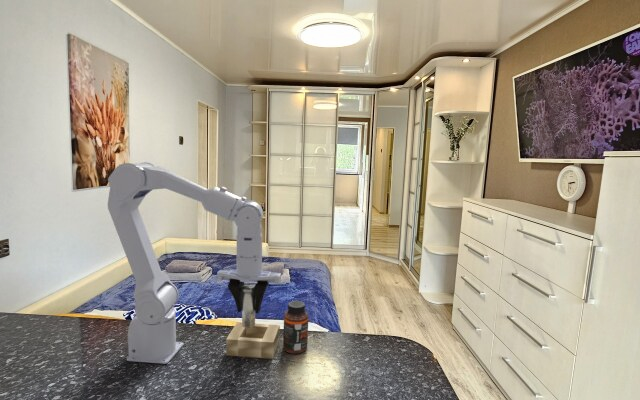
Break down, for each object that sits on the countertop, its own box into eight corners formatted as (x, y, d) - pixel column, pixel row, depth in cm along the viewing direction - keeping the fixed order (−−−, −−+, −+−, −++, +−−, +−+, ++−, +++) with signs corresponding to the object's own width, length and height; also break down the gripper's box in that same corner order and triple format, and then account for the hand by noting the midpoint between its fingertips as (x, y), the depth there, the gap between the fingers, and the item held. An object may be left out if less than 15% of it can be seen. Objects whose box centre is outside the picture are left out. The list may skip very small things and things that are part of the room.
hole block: (226, 355, 77) (226, 339, 77) (237, 337, 85) (237, 322, 85) (272, 358, 77) (273, 342, 76) (279, 340, 85) (279, 325, 84)
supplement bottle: (304, 356, 78) (305, 310, 77) (279, 353, 79) (280, 307, 78) (309, 343, 84) (311, 300, 82) (287, 339, 85) (288, 297, 84)
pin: (237, 327, 76) (238, 289, 75) (243, 321, 80) (243, 284, 79) (254, 329, 76) (254, 290, 75) (258, 321, 79) (259, 284, 79)
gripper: (211, 257, 73) (212, 316, 75) (277, 261, 72) (276, 321, 73) (223, 249, 80) (223, 303, 82) (283, 252, 79) (282, 306, 80)
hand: (249, 310), depth 78 cm, fingers closed on pin, 3 cm apart
